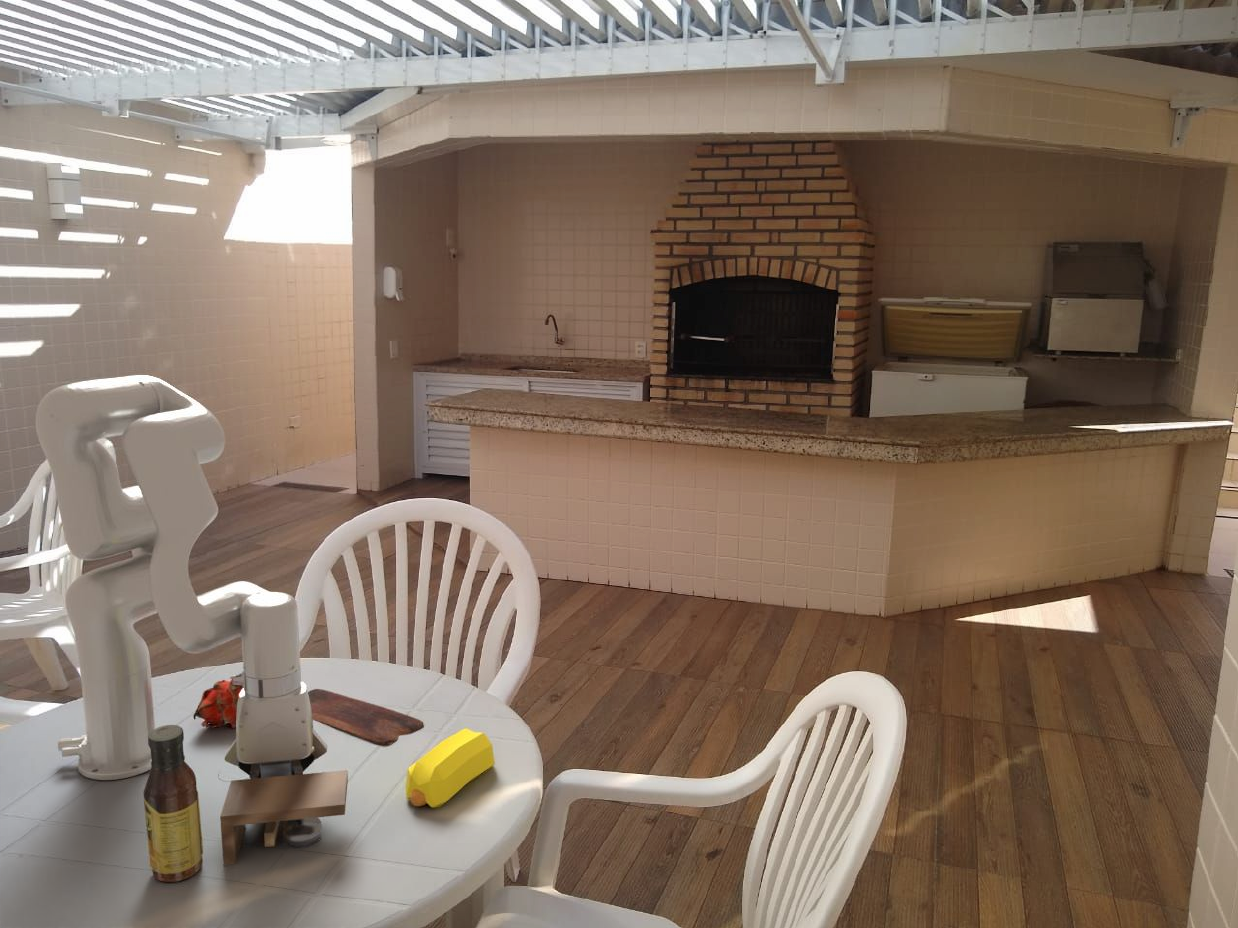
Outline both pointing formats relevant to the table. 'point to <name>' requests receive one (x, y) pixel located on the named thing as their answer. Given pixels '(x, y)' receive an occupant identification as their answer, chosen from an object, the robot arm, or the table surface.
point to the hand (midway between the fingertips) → (279, 796)
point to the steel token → (301, 832)
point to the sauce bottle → (172, 808)
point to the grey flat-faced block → (273, 771)
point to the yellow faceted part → (448, 768)
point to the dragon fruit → (219, 704)
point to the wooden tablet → (361, 717)
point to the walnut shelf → (279, 803)
